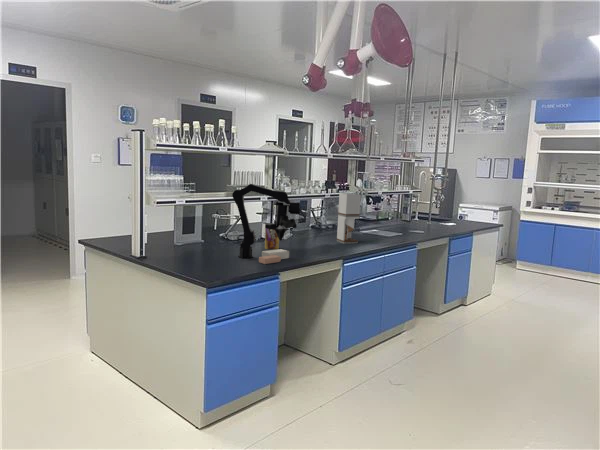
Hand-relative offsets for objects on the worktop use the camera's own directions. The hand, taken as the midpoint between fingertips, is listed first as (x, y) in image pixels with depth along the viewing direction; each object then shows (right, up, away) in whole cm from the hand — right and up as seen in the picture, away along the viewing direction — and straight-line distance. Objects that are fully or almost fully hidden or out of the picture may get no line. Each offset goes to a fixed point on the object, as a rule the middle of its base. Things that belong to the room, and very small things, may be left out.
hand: (280, 240), depth 254 cm
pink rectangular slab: (-5, -12, -9) cm, 16 cm away
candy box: (-7, -6, +31) cm, 32 cm away
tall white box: (+45, -4, +67) cm, 81 cm away
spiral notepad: (-3, -10, +3) cm, 11 cm away
